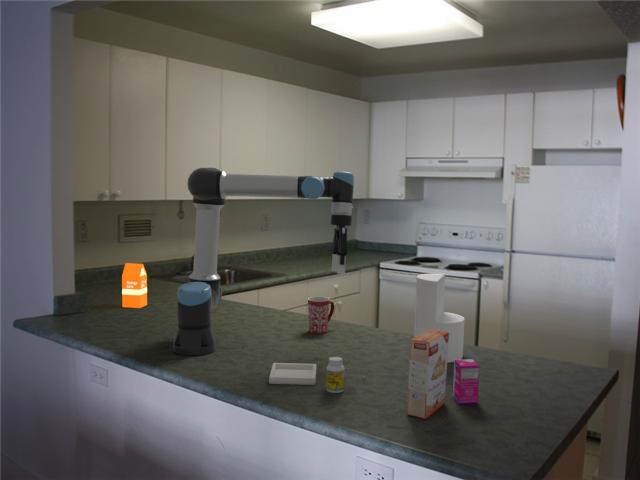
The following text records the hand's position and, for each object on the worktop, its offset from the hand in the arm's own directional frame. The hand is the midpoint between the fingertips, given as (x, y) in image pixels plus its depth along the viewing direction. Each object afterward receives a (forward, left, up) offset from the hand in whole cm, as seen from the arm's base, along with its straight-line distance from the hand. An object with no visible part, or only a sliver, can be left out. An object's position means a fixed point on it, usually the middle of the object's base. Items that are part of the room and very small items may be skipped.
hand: (338, 272), depth 221 cm
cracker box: (+24, -58, -28) cm, 69 cm away
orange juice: (-94, +59, -28) cm, 114 cm away
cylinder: (+36, -7, -28) cm, 46 cm away
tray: (-14, -34, -28) cm, 46 cm away
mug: (-6, +22, -28) cm, 36 cm away
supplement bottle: (-1, -45, -28) cm, 53 cm away
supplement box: (+36, -51, -28) cm, 69 cm away
